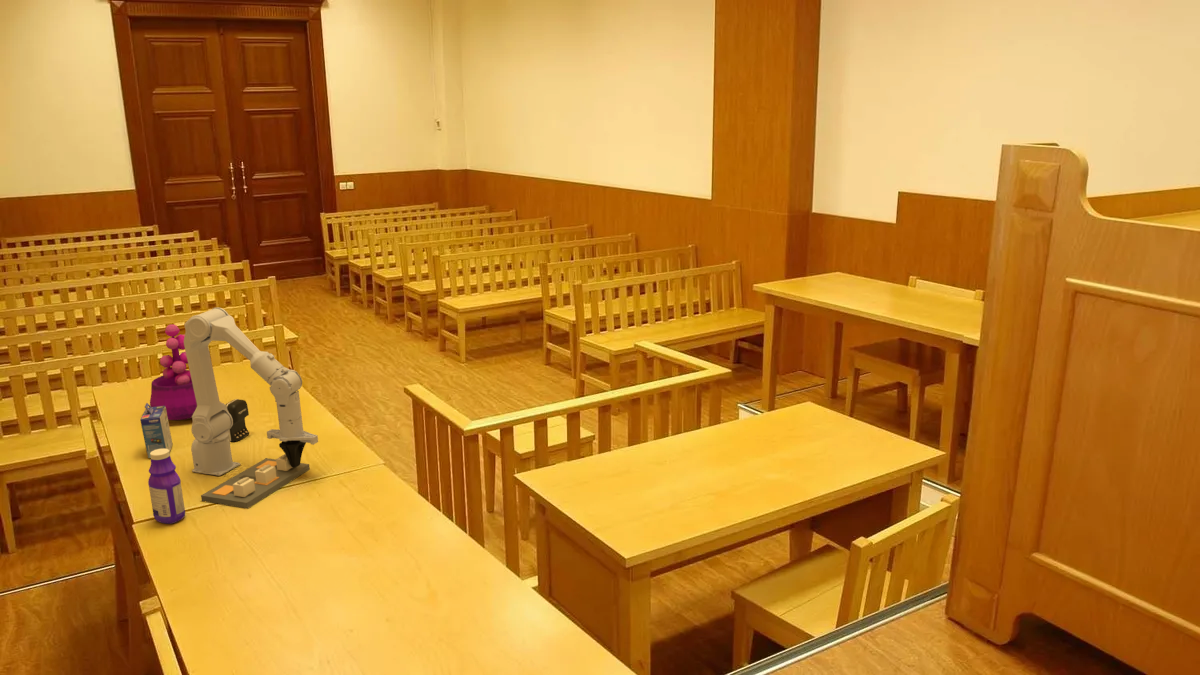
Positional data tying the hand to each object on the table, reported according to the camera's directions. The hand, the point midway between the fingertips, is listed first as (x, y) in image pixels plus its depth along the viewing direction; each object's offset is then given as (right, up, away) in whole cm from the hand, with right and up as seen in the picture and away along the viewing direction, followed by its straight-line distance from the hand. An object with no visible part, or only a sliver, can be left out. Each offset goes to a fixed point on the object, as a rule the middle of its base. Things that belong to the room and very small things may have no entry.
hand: (295, 465), depth 228 cm
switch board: (-8, -4, -5) cm, 10 cm away
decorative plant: (-51, +9, +45) cm, 69 cm away
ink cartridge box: (-45, +1, +17) cm, 48 cm away
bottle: (-22, -10, -22) cm, 33 cm away
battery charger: (-26, +4, +27) cm, 37 cm away
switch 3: (-3, -1, +1) cm, 3 cm away
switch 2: (-5, -3, -6) cm, 9 cm away
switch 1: (-8, -5, -13) cm, 16 cm away
